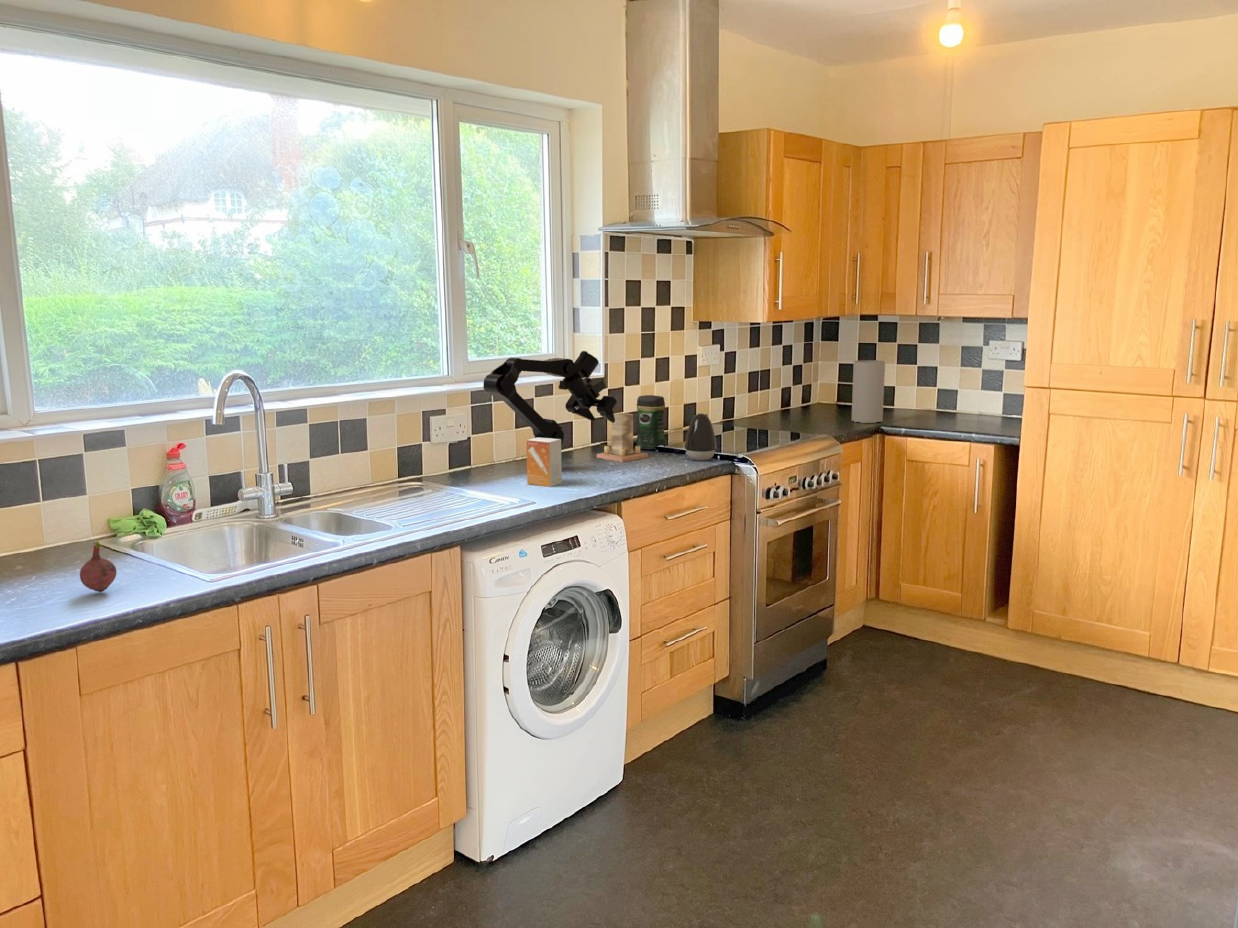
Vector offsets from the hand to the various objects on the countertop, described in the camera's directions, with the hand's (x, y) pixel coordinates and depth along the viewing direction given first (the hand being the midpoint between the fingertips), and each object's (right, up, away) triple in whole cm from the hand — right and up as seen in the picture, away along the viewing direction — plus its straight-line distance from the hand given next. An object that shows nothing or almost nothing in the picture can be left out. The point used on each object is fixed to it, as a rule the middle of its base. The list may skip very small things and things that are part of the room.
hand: (603, 420), depth 314 cm
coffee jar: (+16, -9, +27) cm, 32 cm away
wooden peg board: (+6, -12, +8) cm, 15 cm away
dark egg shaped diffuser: (+32, -13, +4) cm, 34 cm away
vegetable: (-92, -38, -133) cm, 166 cm away
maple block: (+6, -10, +8) cm, 14 cm away
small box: (-17, -20, -34) cm, 43 cm away
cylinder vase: (+108, +3, +89) cm, 140 cm away
